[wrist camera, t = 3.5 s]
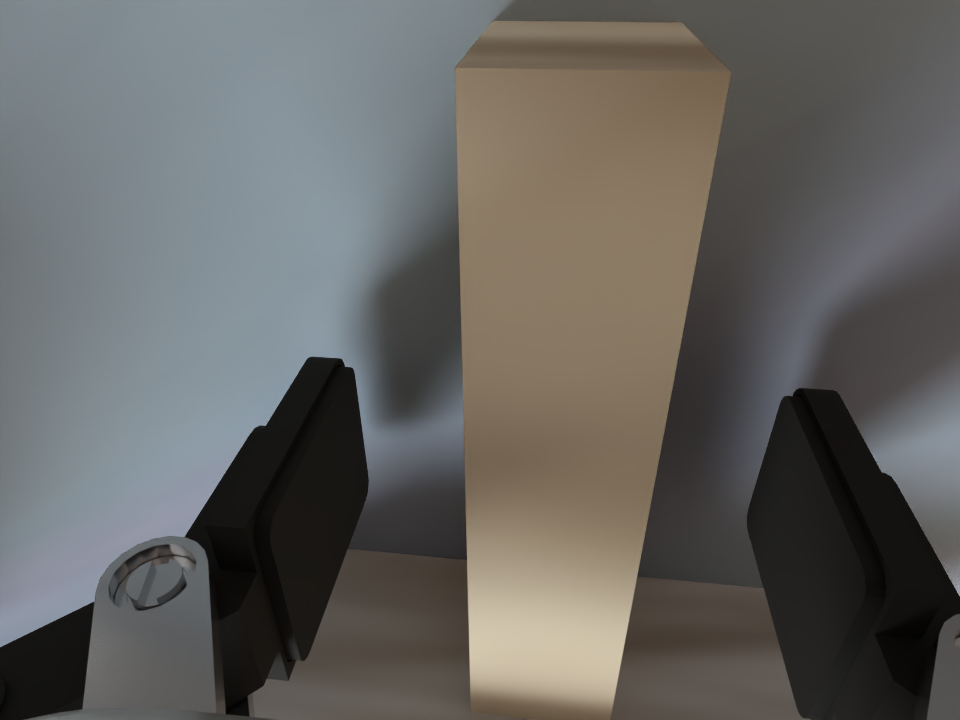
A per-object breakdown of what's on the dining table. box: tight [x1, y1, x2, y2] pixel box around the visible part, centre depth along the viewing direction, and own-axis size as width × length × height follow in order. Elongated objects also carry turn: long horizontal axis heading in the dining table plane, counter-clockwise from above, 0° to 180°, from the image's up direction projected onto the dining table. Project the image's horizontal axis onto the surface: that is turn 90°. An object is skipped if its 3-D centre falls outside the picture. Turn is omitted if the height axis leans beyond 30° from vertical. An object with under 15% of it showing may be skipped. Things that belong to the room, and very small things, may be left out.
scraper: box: [252, 21, 811, 720], centre depth 11 cm, size 12×12×4 cm
